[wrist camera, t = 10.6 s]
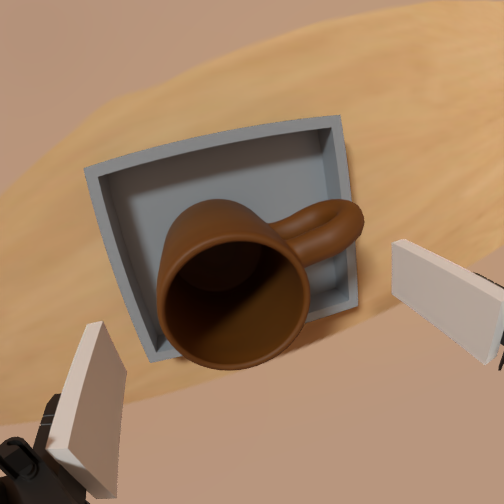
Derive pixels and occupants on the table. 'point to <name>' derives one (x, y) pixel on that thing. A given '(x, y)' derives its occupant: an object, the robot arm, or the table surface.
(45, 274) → the table surface
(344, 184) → the tray
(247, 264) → the mug
